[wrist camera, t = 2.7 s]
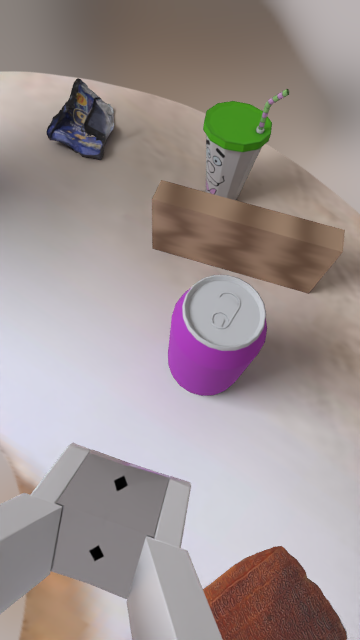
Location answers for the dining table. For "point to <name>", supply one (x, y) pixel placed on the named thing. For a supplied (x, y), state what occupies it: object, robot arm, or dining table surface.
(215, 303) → the beverage can
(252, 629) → the wooden tablet
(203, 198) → the board
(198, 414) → the dining table surface
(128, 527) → the robot arm
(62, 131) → the snack package
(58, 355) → the dining table surface
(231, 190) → the cup
